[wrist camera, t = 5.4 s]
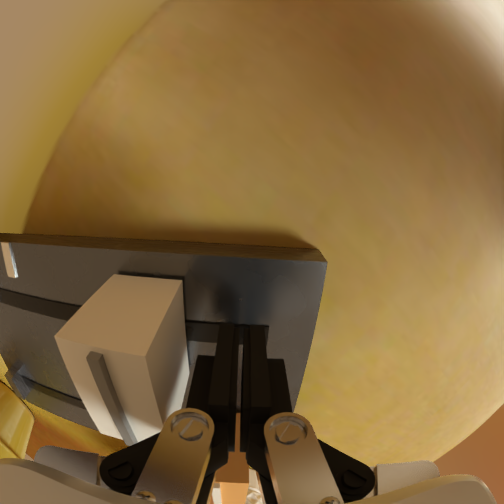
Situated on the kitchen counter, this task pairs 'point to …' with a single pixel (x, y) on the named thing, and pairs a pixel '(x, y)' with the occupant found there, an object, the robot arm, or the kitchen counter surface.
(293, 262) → the console board
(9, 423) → the plant pot
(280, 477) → the robot arm
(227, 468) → the block
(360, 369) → the kitchen counter surface
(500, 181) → the kitchen counter surface
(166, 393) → the fader
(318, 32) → the kitchen counter surface
